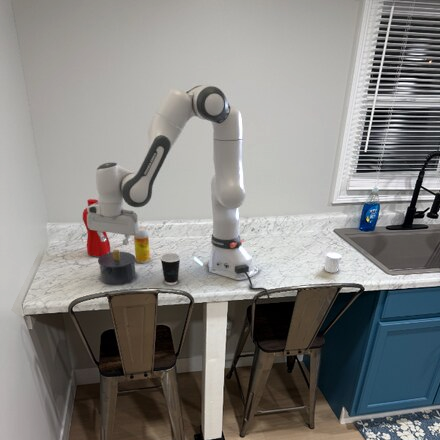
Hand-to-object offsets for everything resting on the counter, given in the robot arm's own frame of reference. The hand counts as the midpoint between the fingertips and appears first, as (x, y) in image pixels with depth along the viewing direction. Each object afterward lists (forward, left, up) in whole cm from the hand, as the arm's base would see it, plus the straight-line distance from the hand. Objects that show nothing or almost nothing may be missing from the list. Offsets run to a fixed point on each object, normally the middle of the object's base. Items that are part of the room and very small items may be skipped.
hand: (114, 242), depth 157 cm
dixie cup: (-19, -12, -15) cm, 27 cm away
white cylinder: (-60, -69, -15) cm, 93 cm away
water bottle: (+26, -9, -15) cm, 32 cm away
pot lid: (0, 0, -8) cm, 8 cm away
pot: (0, 0, -15) cm, 15 cm away
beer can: (+5, -17, -15) cm, 24 cm away
